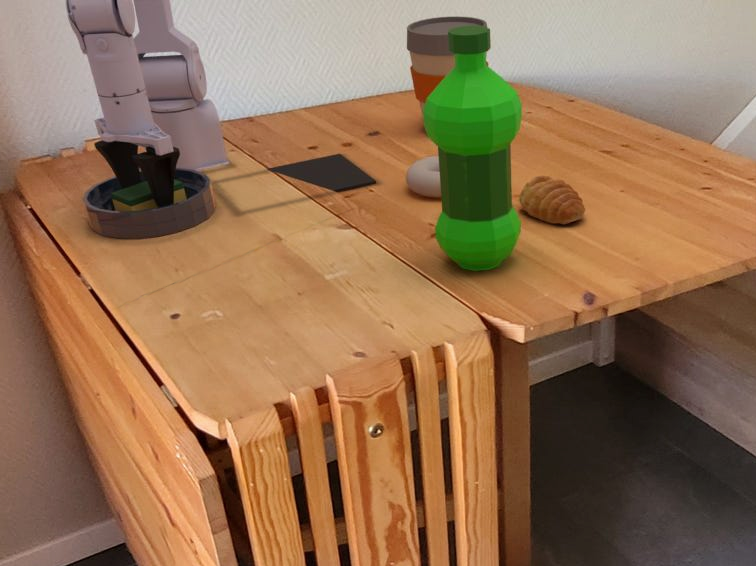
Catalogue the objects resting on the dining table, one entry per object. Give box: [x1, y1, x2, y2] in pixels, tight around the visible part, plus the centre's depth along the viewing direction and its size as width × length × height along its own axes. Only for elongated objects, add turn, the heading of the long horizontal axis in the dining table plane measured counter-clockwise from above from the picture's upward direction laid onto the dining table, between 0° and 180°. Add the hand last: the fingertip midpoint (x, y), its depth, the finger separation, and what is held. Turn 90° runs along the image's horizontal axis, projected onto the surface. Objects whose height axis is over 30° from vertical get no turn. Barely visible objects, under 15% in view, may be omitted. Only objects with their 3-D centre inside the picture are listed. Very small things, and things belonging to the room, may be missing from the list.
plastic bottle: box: [423, 26, 523, 272], centre depth 106 cm, size 10×10×25 cm
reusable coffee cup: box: [406, 15, 489, 132], centre depth 149 cm, size 12×13×15 cm
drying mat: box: [266, 153, 377, 193], centre depth 137 cm, size 20×14×1 cm
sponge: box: [111, 179, 187, 211], centre depth 127 cm, size 8×5×4 cm, turn 138°
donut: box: [405, 155, 441, 199], centre depth 132 cm, size 10×4×10 cm
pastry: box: [518, 175, 586, 225], centre depth 123 cm, size 9×7×4 cm
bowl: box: [81, 168, 217, 240], centre depth 127 cm, size 16×16×4 cm
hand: (149, 199), depth 127 cm, fingers open, 7 cm apart
